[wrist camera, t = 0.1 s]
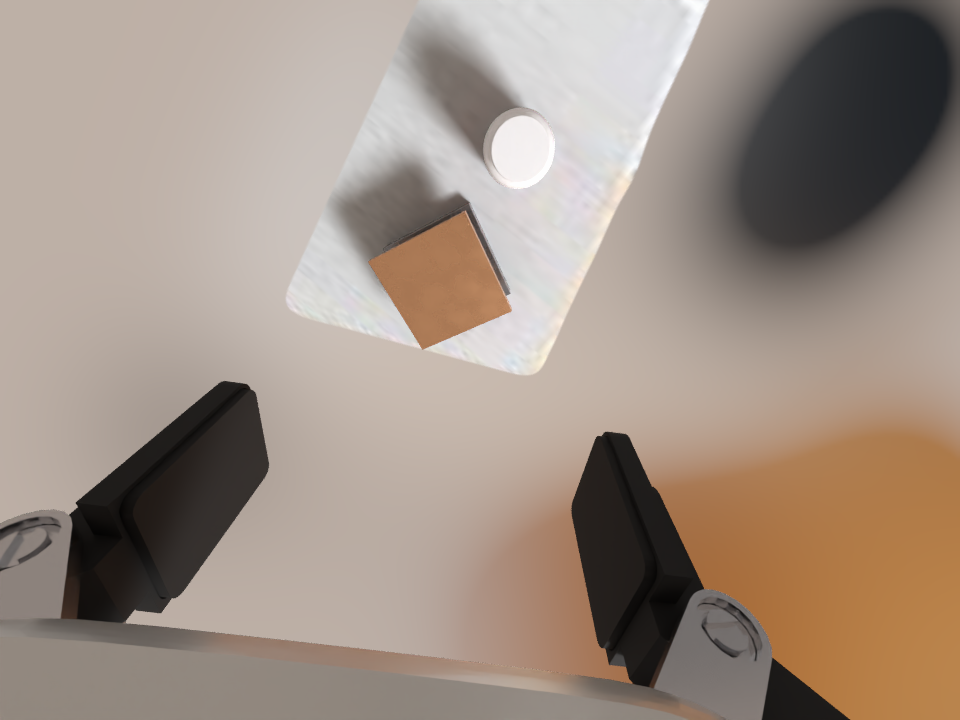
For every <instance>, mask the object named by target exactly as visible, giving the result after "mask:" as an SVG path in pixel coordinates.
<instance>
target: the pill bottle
mask: <svg viewBox="0 0 960 720" xmlns="http://www.w3.org/2000/svg"><path fill="white" fill-rule="evenodd" d="M554 152H555V140H554V135H553V131H552V129H551V127H550V125H549V123H548V122H547V120H546V119H545V118H544V117H543V116H542V115H541V114H540V113H538V112H536V111H534V110H532V109H529V108H513V109H510V110H507V111H505V112H504V113H502V114H500V115H499V116H498V117H497V118H496V119H495V120H494V121H493V122H492V124H491V125H490V127H489V129H488V131H487V133H486V136H485V139H484V145H483V156H484V161H485V165H486V167H487V170H488V171H489V173H490V175H491V176H492V177H493V178H494V180H496V181H497V182H498V183H499V184H501V185H503V186H505V187H508V188H512V189H522V188H527V187H529V186H532V185H534V184H535V183H537V182H538V181H539V180H541V179H542V178H543V177H544V175H545V174H546V173H547V171H548V170H549V168H550V166H551V164H552V161H553V158H554Z"/></svg>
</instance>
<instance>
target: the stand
mask: <svg viewBox="0 0 960 720" xmlns="http://www.w3.org/2000/svg"><path fill="white" fill-rule="evenodd" d="M383 250H384V253H382V254H380V255H378V256H376V257H375V258H373V259H371V260H370V261H369V264H370V266H371V267H372V269H373V270H374V272H375V274H376V275H377V277H378V278H379V280H380V282H381V283H382V285H383V287H384V288H385V290H386V291H387V293H388V295H389V296H390V298H391V299H392V301H393V303H394V304H395V306H396V308H397V309H398V311H399V312H400V314H401V316H402V317H403V319H404V320H405V322H406V324H407V325H408V327H409V329H410V330H411V332H412V333H413V335H414V337H415V338H416V340H417V341H418V343H419V345H420V346H421V348H422V349H425V348H427V347H430V346H432V345H434V344H437V343H439V342H441V341H444V340H446V339H448V338H451V337H453V336H455V335H458V334H460V333H462V332H465V331H467V330H469V329H472V328H474V327H476V326H478V325H481V324H483V323H485V322H488V321H490V320H492V319H495V318H497V317H499V316H502V315H504V314H506V313H509V312H511V311H512V308H511V306H510V304H509V301H508V299H507V297H506V295H509V294H510V289H509V286H508V284H507V282H506V280H505V278H504V276H503V273H502V271H501V269H500V267H499V265H498V263H497V260H496V258H495V256H494V254H493V252H492V250H491V247H490V245H489V243H488V241H487V239H486V237H485V234H484V232H483V230H482V228H481V226H480V224H479V221H478V219H477V217H476V215H475V213H474V211H473V208H472V206H471V204H470V203H468V204H466V205H464V206H462V207H460V208H458V209H456V210H455V211H453V212H451V213H449V214H447V215H445V216H443V217H441V218H439V219H437V220H435V221H433V222H432V223H430V224H428V225H426V226H424V227H422V228H420V229H418V230H416V231H414V232H412V233H410V234H409V235H407V236H405V237H403V238H401V239H399V240H397V241H395V242H393V243H391V244H389V245H387V246H386V247H385V248H384V249H383Z"/></svg>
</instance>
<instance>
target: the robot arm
mask: <svg viewBox="0 0 960 720" xmlns="http://www.w3.org/2000/svg"><path fill="white" fill-rule="evenodd" d="M268 468H269V462H268V457H267V451H266V445H265V440H264V435H263V429H262V424H261V418H260V413H259V408H258V402H257V397H256V394H255V392H254V391H253V390H251V389H250V387H249V386H248V385H247V384H243V383H235V382H228V381H223V382H221V383H219V384H218V385H217V386H215V387H214V388H213V389H212V390H210V391H209V392H208V393H207V394H205V395H204V396H203V397H202V398H201V399H200V400H198V401H197V402H196V403H195V404H193V405H192V406H191V407H190V408H189V409H188V410H186V411H185V412H184V413H183V414H181V416H179V417H178V418H177V419H175V420H174V421H173V422H172V423H171V424H169V426H167V427H166V428H165V429H163V430H162V431H161V432H160V433H159V434H157V435H156V436H155V437H154V438H153V439H151V440H150V441H149V442H148V443H147V444H145V445H144V446H143V447H142V448H141V449H139V450H138V451H137V452H136V453H135V454H133V455H132V456H131V457H130V458H129V459H127V460H126V461H125V462H124V463H123V464H121V466H119V467H118V468H117V469H115V470H114V471H113V472H112V473H111V474H109V475H108V476H107V477H106V478H105V479H103V480H102V481H101V482H100V483H99V484H97V485H96V486H95V487H94V488H93V489H91V490H90V491H89V492H88V493H87V494H85V495H84V496H83V497H82V498H81V499H79V500H78V501H77V502H76V504H77V506H78V508H76V510H74V511H73V512H72V513H71V514H70V515H68V514H66V513H65V512H62V511H57V510H40V511H35V512H31V513H26V514H23V515H20V516H17V517H14V518H12V519H9V520H6V521H4V522H2V523H0V720H850V719H848V718H847V717H846V716H845V715H843V714H842V713H841V712H840V711H838V710H837V709H835V707H833V706H832V705H831V704H829V703H828V702H827V701H826V700H825V699H823V698H822V697H821V696H820V695H818V694H817V693H816V692H814V691H813V690H812V689H811V688H810V687H808V686H807V685H806V684H805V683H803V682H802V681H801V680H800V679H798V678H797V677H796V676H795V675H793V674H792V673H791V672H790V671H788V670H787V669H786V668H785V667H783V666H782V665H781V664H779V663H778V662H777V661H776V660H775V659H773V658H772V648H771V645H770V642H769V639H768V636H767V634H766V633H765V631H764V629H763V628H762V626H761V625H760V623H759V621H758V620H757V619H756V618H755V617H754V616H753V615H752V614H751V612H750V611H749V610H748V609H746V608H745V607H744V606H743V605H742V604H740V603H739V602H738V601H737V600H735V599H733V598H731V597H730V596H728V595H726V594H724V593H721V592H718V591H715V590H706V589H704V587H703V585H702V583H701V581H700V579H699V577H698V575H697V572H696V570H695V568H694V566H693V564H692V562H691V560H690V558H689V556H688V553H687V551H686V549H685V547H684V545H683V543H682V541H681V539H680V537H679V534H678V532H677V530H676V528H675V526H674V524H673V522H672V519H671V518H670V515H669V513H668V511H667V509H666V507H665V505H664V503H663V500H662V498H661V496H660V494H659V493H658V491H657V490H656V489H655V488H654V487H652V486H651V484H650V482H649V480H648V478H647V475H646V473H645V471H644V469H643V467H642V464H641V462H640V460H639V458H638V456H637V453H636V451H635V449H634V447H633V445H632V443H631V440H630V438H629V437H628V435H626V434H620V433H613V432H605V433H604V434H603V435H602V436H597V437H596V439H595V442H594V444H593V447H592V450H591V452H590V456H589V458H588V461H587V463H586V466H585V469H584V472H583V474H582V478H581V480H580V483H579V486H578V488H577V491H576V494H575V497H574V499H573V502H572V519H573V523H574V528H575V533H576V537H577V543H578V548H579V553H580V558H581V563H582V568H583V573H584V577H585V582H586V587H587V592H588V597H589V602H590V607H591V612H592V617H593V621H594V627H595V632H596V637H597V641H598V644H599V646H600V647H601V648H605V649H606V653H607V657H608V662H609V665H615V666H624V667H626V668H627V672H628V676H629V679H630V680H631V681H632V682H633V683H632V684H629V683H624V682H619V681H614V680H609V679H602V678H594V677H587V676H580V675H573V674H566V673H558V672H551V671H544V670H537V669H528V668H520V667H512V666H504V665H495V664H486V663H479V662H470V661H461V660H453V659H445V658H437V657H428V656H420V655H411V654H402V653H394V652H385V651H376V650H367V649H359V648H350V647H341V646H332V645H324V644H315V643H306V642H297V641H288V640H279V639H270V638H260V637H251V636H243V635H233V634H224V633H215V632H205V631H196V630H186V629H178V628H169V627H159V626H148V625H137V624H126V620H127V618H128V617H129V616H130V615H131V614H132V612H133V611H134V610H135V609H136V610H137V611H145V612H154V613H162V611H163V610H164V608H165V607H166V606H167V604H168V603H169V602H170V600H171V598H176V597H178V596H179V595H180V594H181V593H182V592H183V591H184V590H185V588H186V587H187V586H188V584H189V583H190V581H191V580H192V579H193V577H194V576H195V574H196V573H197V572H198V570H199V569H200V567H201V566H202V565H203V563H204V561H205V560H206V559H207V557H208V556H209V555H210V553H211V552H212V550H213V549H214V548H215V546H216V545H217V544H218V542H219V541H220V539H221V538H222V536H223V535H224V533H225V532H226V531H227V530H228V528H229V527H230V525H231V524H232V522H233V521H234V520H235V518H236V517H237V516H238V514H239V513H240V511H241V510H242V508H243V507H244V506H245V504H246V503H247V502H248V500H249V499H250V497H251V496H252V495H253V493H254V492H255V490H256V489H257V487H258V486H259V485H260V483H261V482H262V481H263V479H264V478H265V476H266V474H267V472H268Z"/></svg>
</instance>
